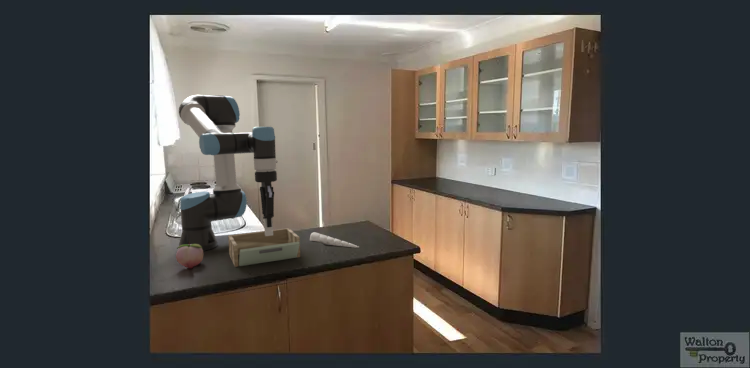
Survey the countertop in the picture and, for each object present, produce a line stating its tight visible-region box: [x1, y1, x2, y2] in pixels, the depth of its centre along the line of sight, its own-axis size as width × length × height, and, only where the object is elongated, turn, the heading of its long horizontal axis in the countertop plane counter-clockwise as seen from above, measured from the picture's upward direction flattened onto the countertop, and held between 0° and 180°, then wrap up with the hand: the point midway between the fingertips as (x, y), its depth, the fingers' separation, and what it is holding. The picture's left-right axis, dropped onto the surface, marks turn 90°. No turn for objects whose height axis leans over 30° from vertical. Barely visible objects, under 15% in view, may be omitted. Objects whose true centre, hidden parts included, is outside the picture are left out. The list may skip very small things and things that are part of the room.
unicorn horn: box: [309, 231, 360, 248], centre depth 177 cm, size 5×24×5 cm, turn 61°
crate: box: [227, 227, 301, 268], centre depth 160 cm, size 16×24×9 cm, turn 116°
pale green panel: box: [238, 242, 301, 267], centre depth 151 cm, size 2×21×8 cm
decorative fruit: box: [175, 242, 204, 269], centre depth 150 cm, size 9×8×10 cm
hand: (269, 235), depth 149 cm, fingers closed
